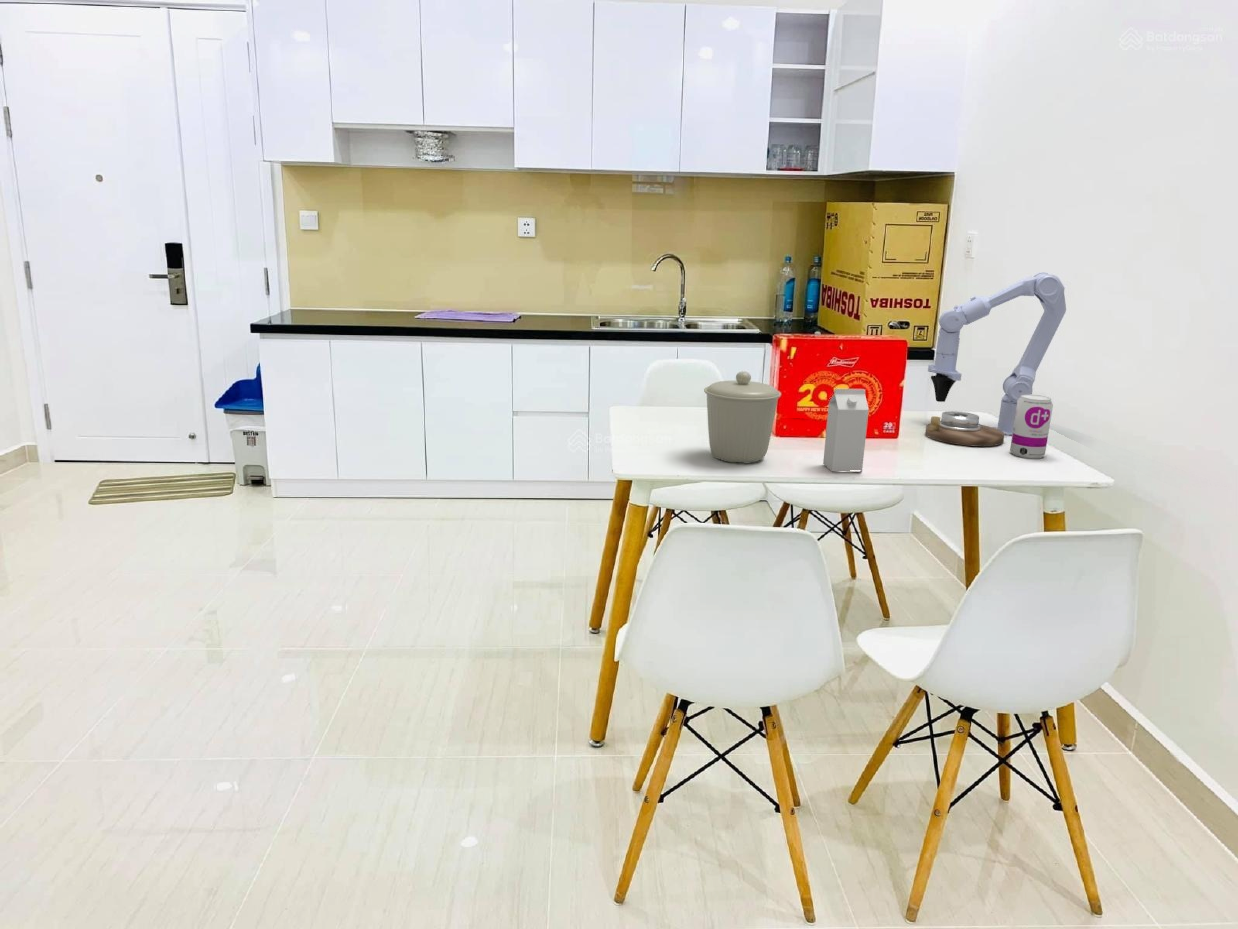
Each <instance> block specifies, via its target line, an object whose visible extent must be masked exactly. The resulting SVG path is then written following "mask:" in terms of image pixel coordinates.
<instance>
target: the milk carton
mask: <svg viewBox="0 0 1238 929" xmlns="http://www.w3.org/2000/svg"><path fill="white" fill-rule="evenodd" d="M830 398H831V399H830V400H829V402H828V409H827V419H826V429H825V439H824V440H825V441H824V451H823V460H822V465H824V467H826V466H827V467H826V468H827V469H828V470H829V469H830V470H831V472H832V471H850V470H862V471H863V465H864V457H865V456H864V455H865V446H866V438H867V429H868V419H869V418H868V417H869V412H870V411H869V410H870V409H869V405H868V401H867V398H866V389H864V388H836V389H835V391H834V394H833V395H832V397H830ZM830 470H829V471H830Z"/></svg>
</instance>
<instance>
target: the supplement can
mask: <svg viewBox="0 0 1238 929" xmlns="http://www.w3.org/2000/svg"><path fill="white" fill-rule="evenodd" d="M1053 408H1054V404H1053V401H1052V398H1051V397H1050V396H1045V395H1040V394H1032V395H1031V394H1025V395H1021V397H1020V398H1019V400H1018V401H1017V407H1016V414H1015V420H1014V427H1013V434H1012V435H1011V440H1010V441H1011V442H1010V447H1009V451H1010V452H1011V454H1012V455H1013V456H1015V455H1016V457H1018V456H1020V457H1019V458H1022V459H1023V458H1024V459H1031V460H1032V459H1036V460H1037V459H1041V458H1042V457H1044V456H1045V455H1046V451H1047V444H1048V438H1049V431H1050V427H1051V426H1050V425H1051V420H1052V414H1053Z"/></svg>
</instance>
